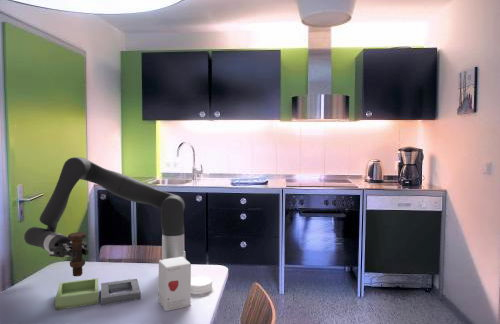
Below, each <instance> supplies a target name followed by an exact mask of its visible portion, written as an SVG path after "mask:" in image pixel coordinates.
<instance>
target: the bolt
mask: <svg viewBox="0 0 500 324" xmlns="http://www.w3.org/2000/svg"><path fill="white" fill-rule="evenodd" d="M67 236H68V239H70V240H72V250H74V251H77V258H73V257H71V258H72V259H71V260H70V261H69V266H70V267H71V268H72V276H73V277H81V276H82V275H83V267H84V266H85V265H86V260H85V259H84V258H83V254H82V242H83V239H86V238H87V234H86V233H85V232H82V231H81V232H80V231H79V232H78V231H77V232H72V233H70V234H68V235H67Z"/></svg>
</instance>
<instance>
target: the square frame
mask: <svg viewBox="0 0 500 324" xmlns="http://www.w3.org/2000/svg"><path fill="white" fill-rule="evenodd" d="M127 289H130V290H129V291H128V290H127ZM120 290H121V291H122V290H127V291H124V292H123V291H122V292H116V293H109V292H113V291H120ZM141 294H142V293H141V289H140V285H139V282H138V278H132V279H124V280H123V279H122V280H117V281H116V280H115V281H109V282H101V283H100V301H101V302H100V305H101V306H106V305H107V306H108V305H113V304H118V303H125V302H133V301H138V300H141V299H142V295H141Z"/></svg>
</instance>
